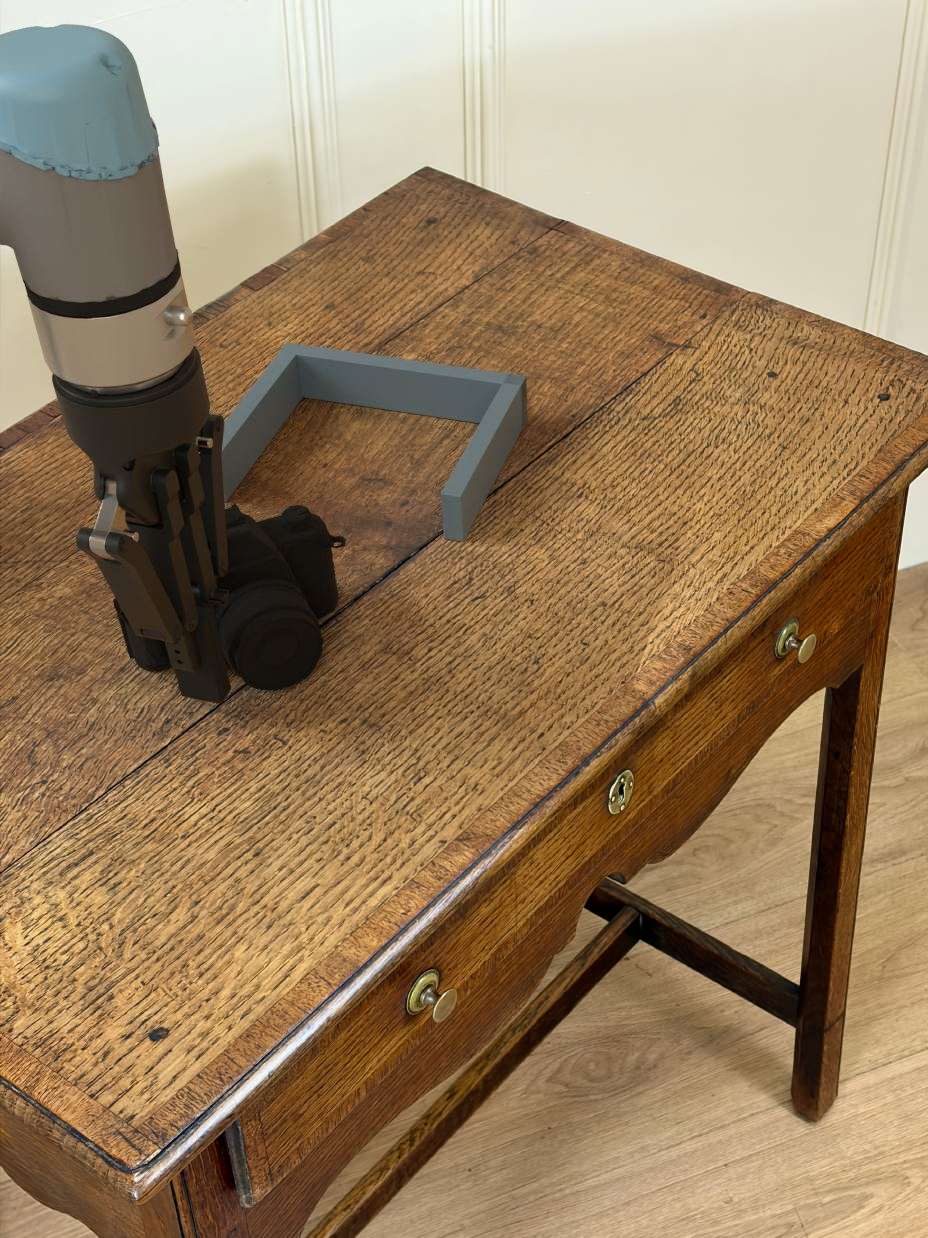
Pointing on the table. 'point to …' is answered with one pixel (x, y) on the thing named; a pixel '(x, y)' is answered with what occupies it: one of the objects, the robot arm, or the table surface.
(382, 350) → the table surface
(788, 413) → the table surface
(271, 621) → the film camera
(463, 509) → the u-shaped bracket
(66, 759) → the table surface
